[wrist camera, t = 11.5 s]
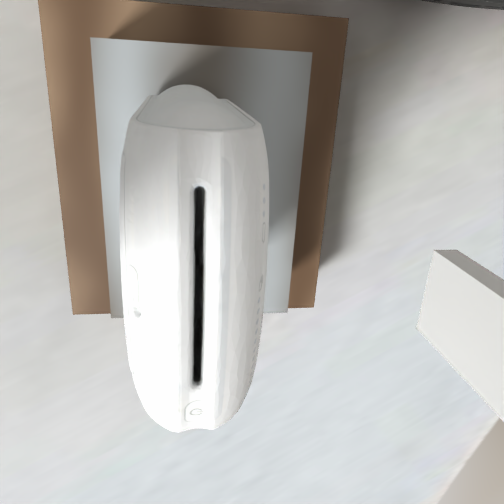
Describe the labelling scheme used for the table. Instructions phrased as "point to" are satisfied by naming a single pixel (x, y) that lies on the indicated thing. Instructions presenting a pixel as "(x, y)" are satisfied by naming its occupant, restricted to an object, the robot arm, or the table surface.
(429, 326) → the robot arm
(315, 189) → the grey block on wood
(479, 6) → the media streaming box
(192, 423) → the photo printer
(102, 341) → the table surface
